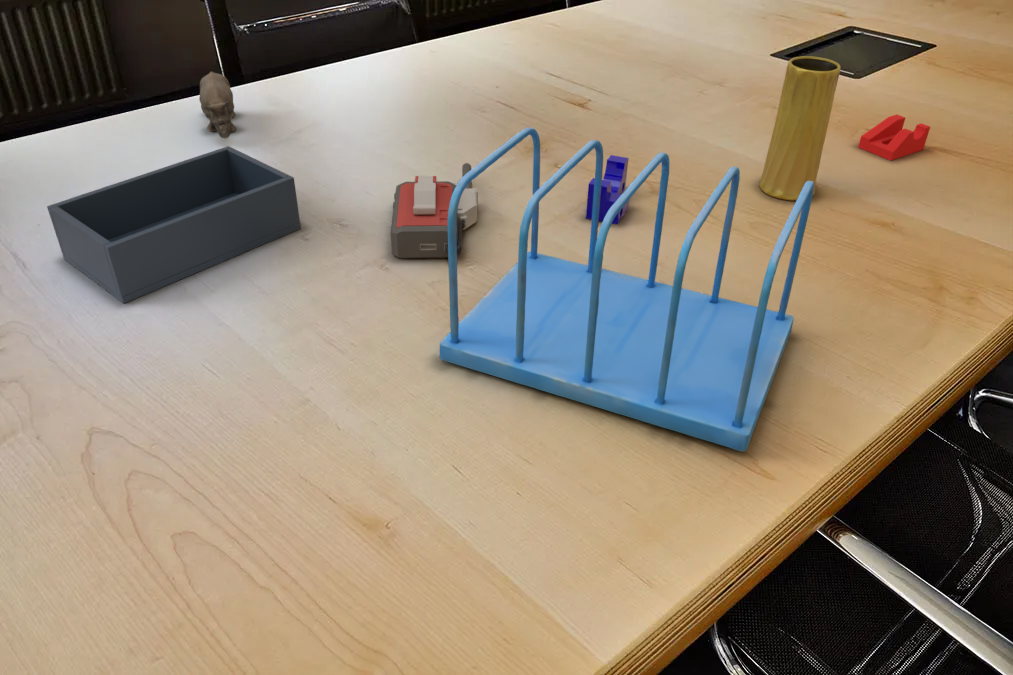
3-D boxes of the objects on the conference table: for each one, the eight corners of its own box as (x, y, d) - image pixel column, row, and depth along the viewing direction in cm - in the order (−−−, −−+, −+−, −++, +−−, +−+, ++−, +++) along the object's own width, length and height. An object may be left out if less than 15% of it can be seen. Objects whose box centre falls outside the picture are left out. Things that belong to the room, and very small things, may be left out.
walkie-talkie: (480, 264, 82) (476, 176, 99) (480, 223, 80) (476, 140, 96) (389, 266, 82) (399, 177, 98) (386, 224, 79) (397, 140, 96)
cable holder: (617, 224, 90) (621, 189, 87) (585, 218, 91) (588, 183, 88) (638, 193, 96) (641, 160, 93) (607, 188, 97) (610, 155, 94)
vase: (756, 176, 100) (781, 53, 92) (810, 179, 99) (839, 56, 91) (762, 199, 95) (788, 71, 87) (818, 203, 94) (850, 74, 86)
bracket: (890, 136, 110) (896, 114, 109) (923, 149, 107) (930, 126, 105) (858, 147, 107) (864, 124, 106) (890, 160, 104) (897, 137, 102)
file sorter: (790, 334, 74) (832, 168, 65) (744, 459, 61) (788, 274, 52) (527, 265, 82) (532, 111, 74) (438, 362, 70) (431, 190, 61)
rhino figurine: (207, 152, 103) (197, 104, 100) (203, 112, 114) (194, 67, 110) (242, 148, 104) (234, 100, 101) (235, 109, 115) (227, 64, 111)
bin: (64, 259, 82) (46, 206, 79) (237, 194, 94) (228, 145, 91) (123, 303, 76) (107, 247, 73) (301, 228, 88) (294, 177, 85)
